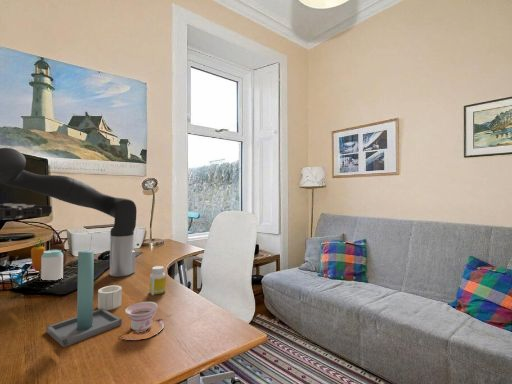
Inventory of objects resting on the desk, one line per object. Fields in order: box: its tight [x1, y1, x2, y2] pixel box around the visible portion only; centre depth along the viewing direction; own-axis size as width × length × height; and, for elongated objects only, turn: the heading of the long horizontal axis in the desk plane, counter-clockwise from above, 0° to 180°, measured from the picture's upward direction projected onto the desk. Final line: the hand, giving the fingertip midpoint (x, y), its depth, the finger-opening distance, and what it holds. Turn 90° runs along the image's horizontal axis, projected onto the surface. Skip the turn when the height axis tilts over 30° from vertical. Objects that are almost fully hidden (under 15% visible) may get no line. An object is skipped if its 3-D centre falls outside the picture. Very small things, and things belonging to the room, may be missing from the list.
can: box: [40, 249, 64, 280], centre depth 111 cm, size 7×7×12 cm
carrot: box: [30, 237, 47, 272], centre depth 120 cm, size 5×5×15 cm
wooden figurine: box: [50, 235, 68, 268], centre depth 128 cm, size 7×6×15 cm
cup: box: [97, 284, 123, 311], centre depth 88 cm, size 7×7×6 cm
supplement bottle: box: [149, 265, 167, 296], centre depth 100 cm, size 5×5×10 cm
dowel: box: [76, 249, 95, 330], centre depth 74 cm, size 4×4×20 cm
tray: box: [45, 308, 123, 348], centre depth 74 cm, size 14×11×2 cm
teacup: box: [118, 301, 165, 341], centre depth 76 cm, size 12×12×6 cm
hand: (46, 210), depth 76 cm, fingers open, 8 cm apart
